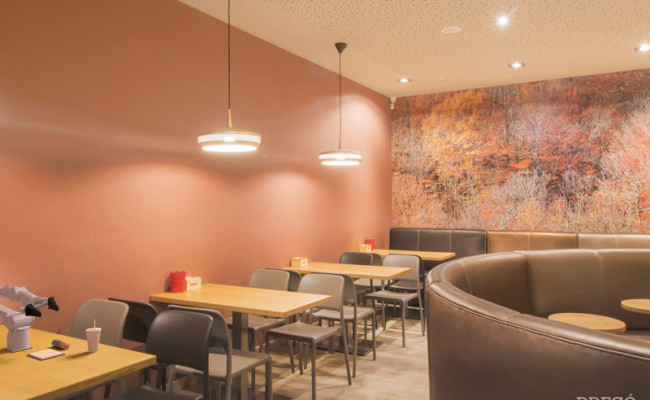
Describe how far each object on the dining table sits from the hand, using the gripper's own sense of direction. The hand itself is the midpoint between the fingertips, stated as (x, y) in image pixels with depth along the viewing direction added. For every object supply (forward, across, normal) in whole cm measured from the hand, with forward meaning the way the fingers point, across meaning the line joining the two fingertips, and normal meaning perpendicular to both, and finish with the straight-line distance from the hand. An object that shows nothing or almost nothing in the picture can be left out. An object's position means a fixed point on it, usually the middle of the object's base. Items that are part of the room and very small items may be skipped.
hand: (49, 311), depth 196 cm
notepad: (+5, -4, +17) cm, 18 cm away
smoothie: (+18, +9, +16) cm, 26 cm away
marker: (0, +6, +20) cm, 21 cm away
